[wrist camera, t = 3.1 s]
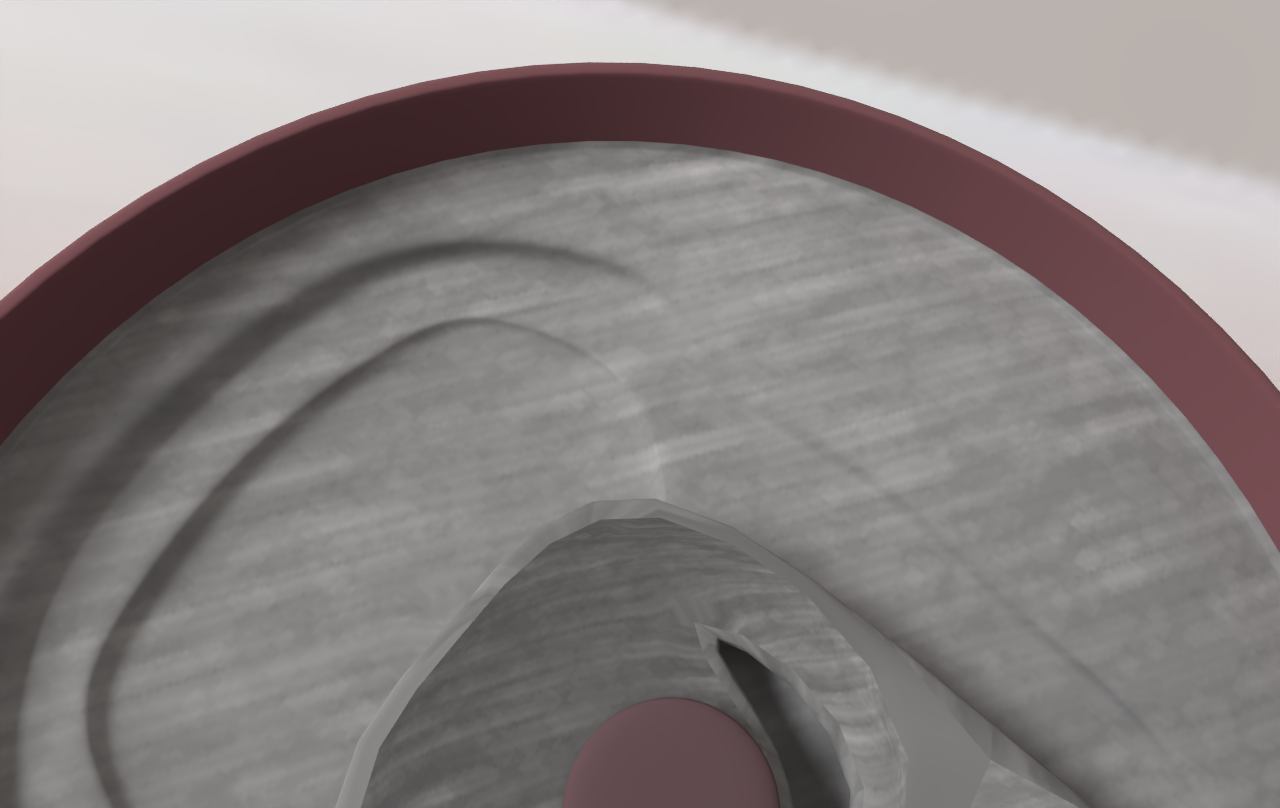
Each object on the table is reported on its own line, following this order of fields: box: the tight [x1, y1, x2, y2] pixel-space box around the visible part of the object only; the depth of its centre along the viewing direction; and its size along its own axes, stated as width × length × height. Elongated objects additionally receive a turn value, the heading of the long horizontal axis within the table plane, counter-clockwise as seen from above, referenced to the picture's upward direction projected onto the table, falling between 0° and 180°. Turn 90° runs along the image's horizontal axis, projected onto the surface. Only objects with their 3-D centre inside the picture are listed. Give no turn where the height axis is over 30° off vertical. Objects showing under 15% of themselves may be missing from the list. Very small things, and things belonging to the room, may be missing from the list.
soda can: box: [0, 62, 1280, 808], centre depth 8 cm, size 7×7×12 cm
